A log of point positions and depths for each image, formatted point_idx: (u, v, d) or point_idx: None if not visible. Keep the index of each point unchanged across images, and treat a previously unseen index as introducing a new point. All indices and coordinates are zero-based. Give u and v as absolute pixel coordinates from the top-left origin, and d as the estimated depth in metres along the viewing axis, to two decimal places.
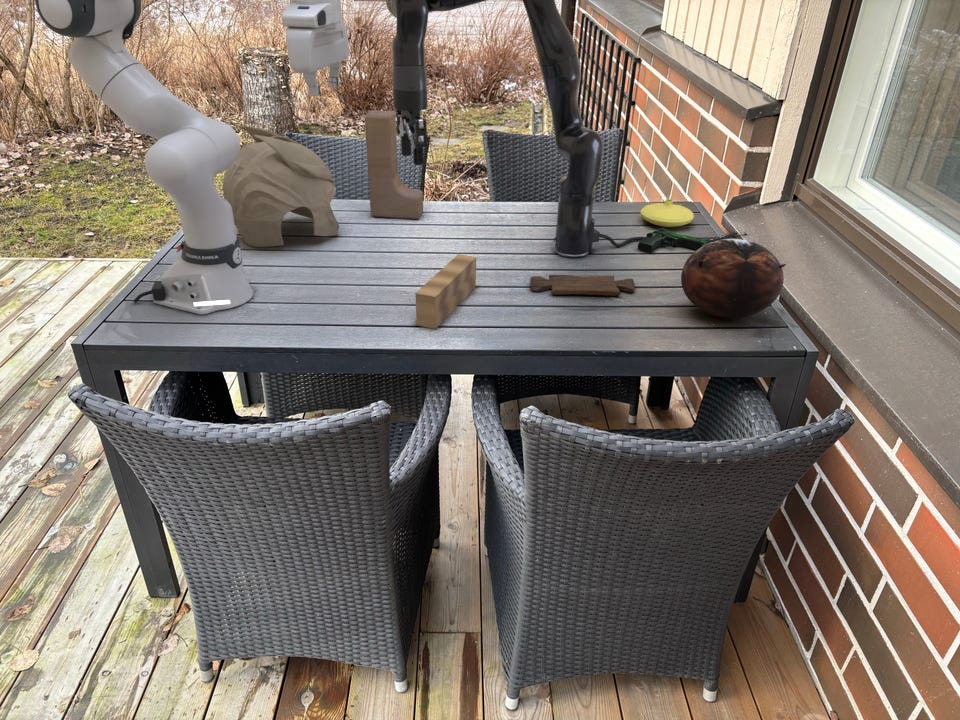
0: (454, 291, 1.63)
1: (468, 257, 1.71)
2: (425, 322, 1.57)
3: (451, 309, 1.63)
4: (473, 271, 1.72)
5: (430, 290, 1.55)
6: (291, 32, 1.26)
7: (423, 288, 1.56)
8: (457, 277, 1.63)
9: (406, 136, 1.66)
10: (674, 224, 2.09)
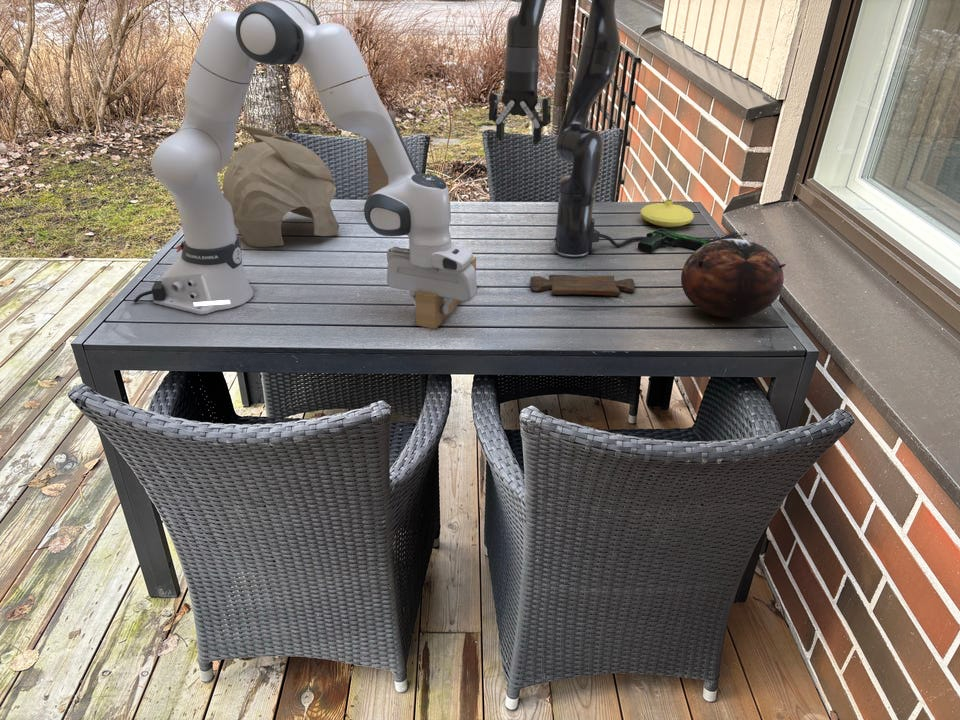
0: None
1: None
2: (425, 322, 1.57)
3: (451, 309, 1.63)
4: None
5: None
6: (467, 273, 1.49)
7: None
8: None
9: None
10: (674, 224, 2.09)
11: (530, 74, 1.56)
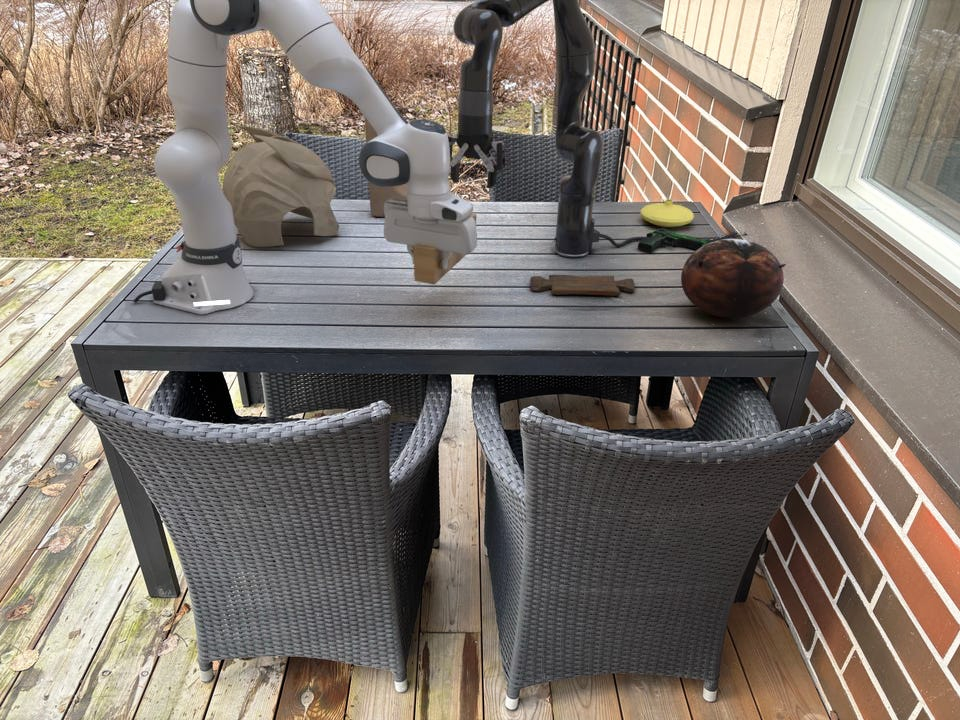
0: None
1: None
2: (423, 278, 1.51)
3: (450, 266, 1.58)
4: None
5: None
6: (467, 223, 1.43)
7: None
8: None
9: None
10: (674, 224, 2.09)
11: (484, 118, 1.52)
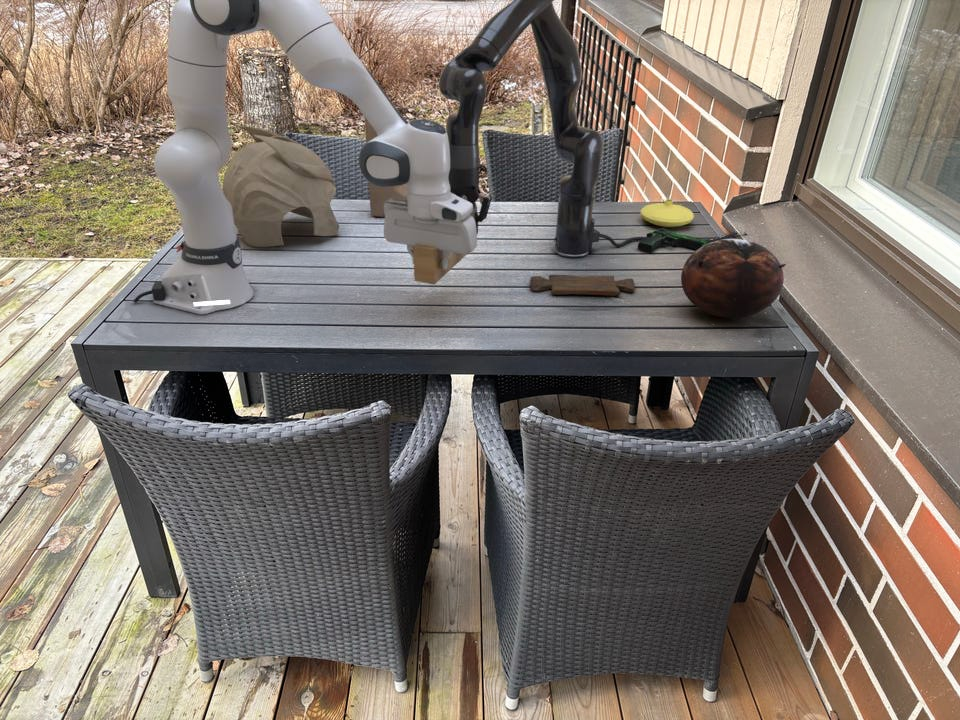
0: None
1: None
2: (423, 278, 1.51)
3: (450, 266, 1.58)
4: None
5: None
6: (467, 224, 1.43)
7: None
8: None
9: None
10: (674, 224, 2.09)
11: (470, 170, 1.56)
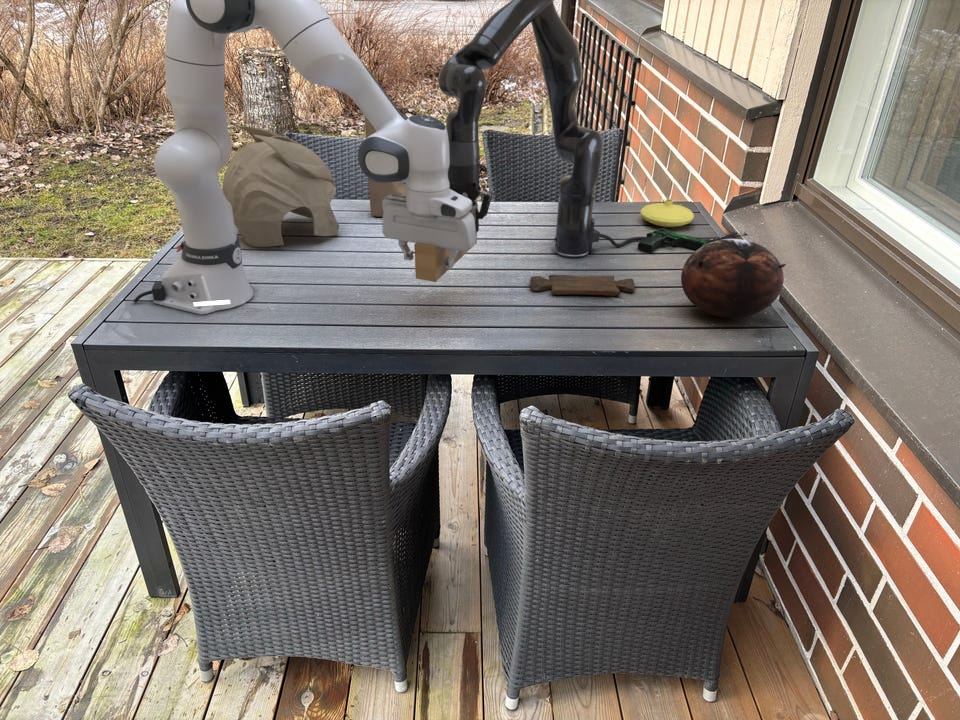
0: None
1: None
2: (424, 275, 1.51)
3: None
4: None
5: None
6: (466, 220, 1.43)
7: None
8: None
9: None
10: (674, 224, 2.09)
11: (470, 167, 1.55)
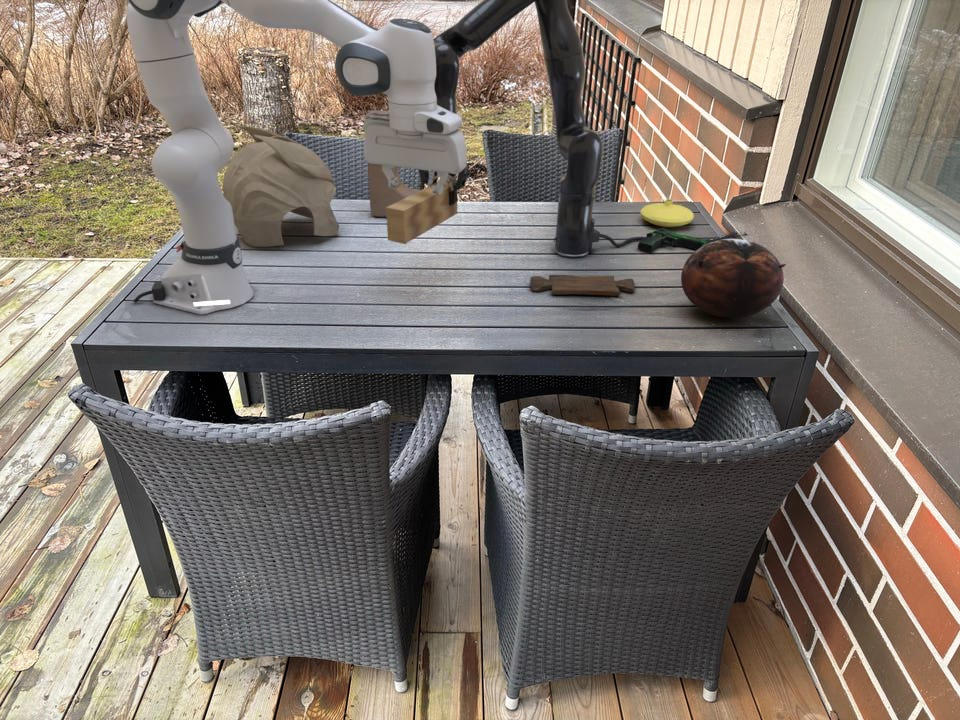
0: (429, 211, 1.69)
1: None
2: (395, 237, 1.63)
3: (425, 229, 1.69)
4: None
5: (400, 206, 1.61)
6: (455, 137, 1.29)
7: (395, 204, 1.63)
8: (432, 197, 1.68)
9: None
10: (674, 224, 2.09)
11: None
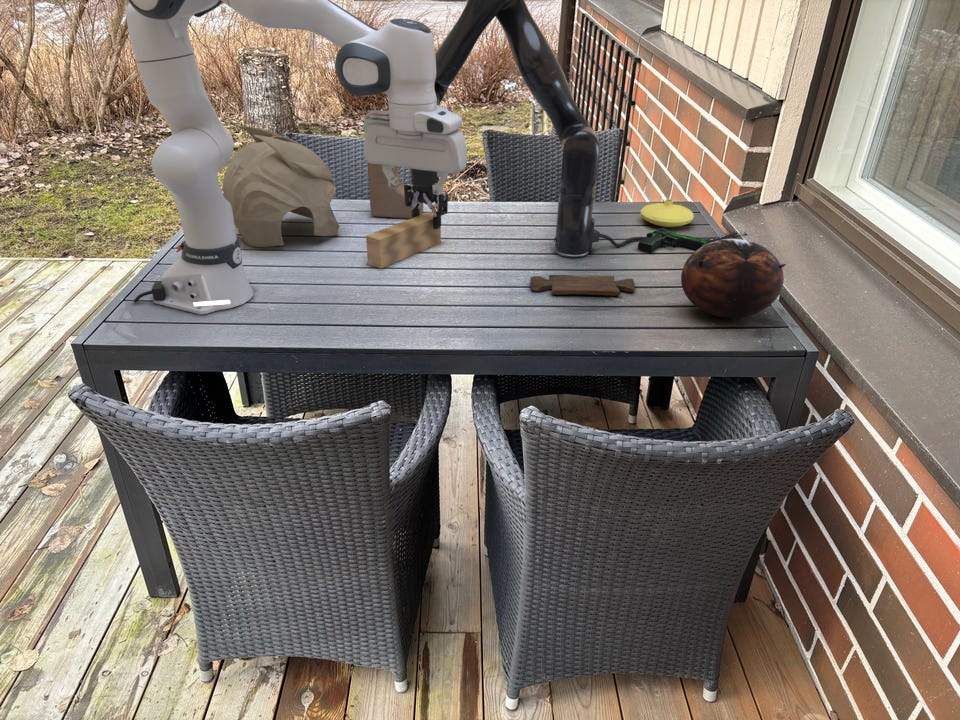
0: (408, 241, 1.89)
1: (433, 215, 1.97)
2: (373, 262, 1.85)
3: (403, 255, 1.90)
4: None
5: (379, 235, 1.83)
6: (455, 137, 1.29)
7: (375, 233, 1.84)
8: (412, 228, 1.89)
9: None
10: (674, 224, 2.09)
11: (427, 172, 1.86)
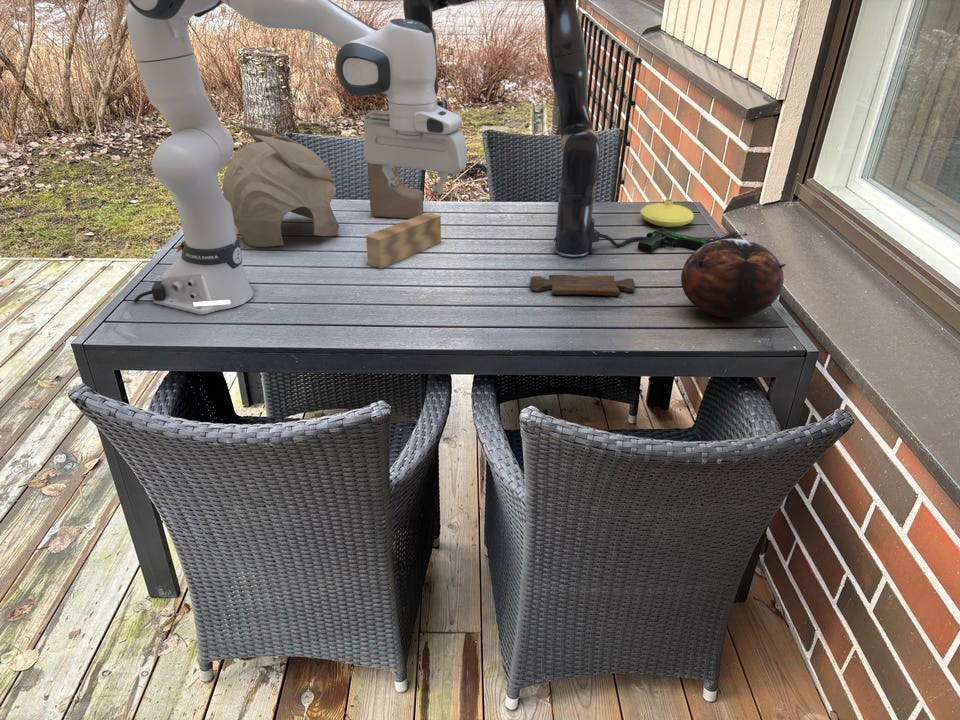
0: (408, 241, 1.89)
1: (433, 215, 1.97)
2: (373, 262, 1.85)
3: (403, 255, 1.90)
4: (437, 228, 1.97)
5: (379, 235, 1.83)
6: (455, 137, 1.29)
7: (375, 233, 1.84)
8: (412, 228, 1.89)
9: None
10: (674, 224, 2.09)
11: None
